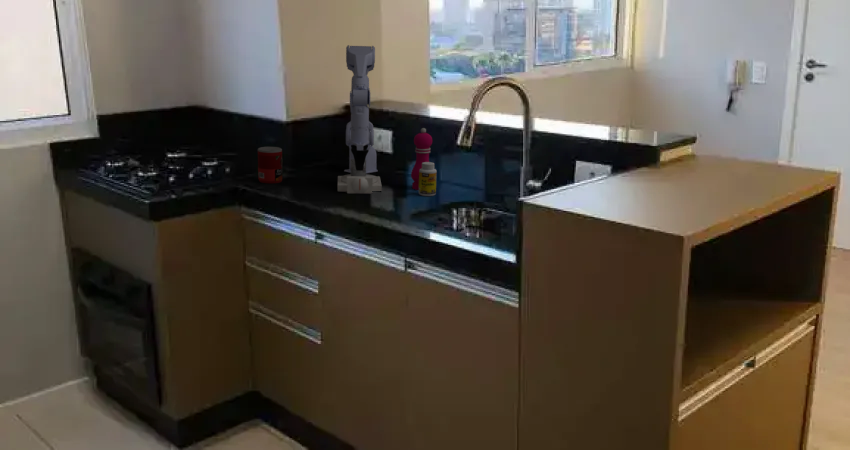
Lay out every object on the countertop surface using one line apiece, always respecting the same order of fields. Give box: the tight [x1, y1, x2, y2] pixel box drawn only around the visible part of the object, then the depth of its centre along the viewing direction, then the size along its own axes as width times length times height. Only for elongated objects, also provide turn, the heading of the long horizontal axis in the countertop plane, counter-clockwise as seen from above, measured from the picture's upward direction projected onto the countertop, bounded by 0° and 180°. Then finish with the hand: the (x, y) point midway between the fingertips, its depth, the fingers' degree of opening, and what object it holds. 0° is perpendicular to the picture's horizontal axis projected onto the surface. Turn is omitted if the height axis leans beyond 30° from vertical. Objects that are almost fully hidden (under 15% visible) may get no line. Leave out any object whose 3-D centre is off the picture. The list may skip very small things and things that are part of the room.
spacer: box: [350, 159, 367, 176], centre depth 266 cm, size 5×5×6 cm
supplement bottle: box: [418, 161, 438, 197], centre depth 259 cm, size 6×6×10 cm
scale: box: [337, 173, 383, 194], centre depth 266 cm, size 17×14×5 cm
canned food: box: [257, 146, 283, 185], centre depth 270 cm, size 8×8×11 cm
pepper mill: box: [410, 127, 433, 191], centre depth 265 cm, size 7×7×20 cm
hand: (359, 168), depth 266 cm, fingers open, 5 cm apart
